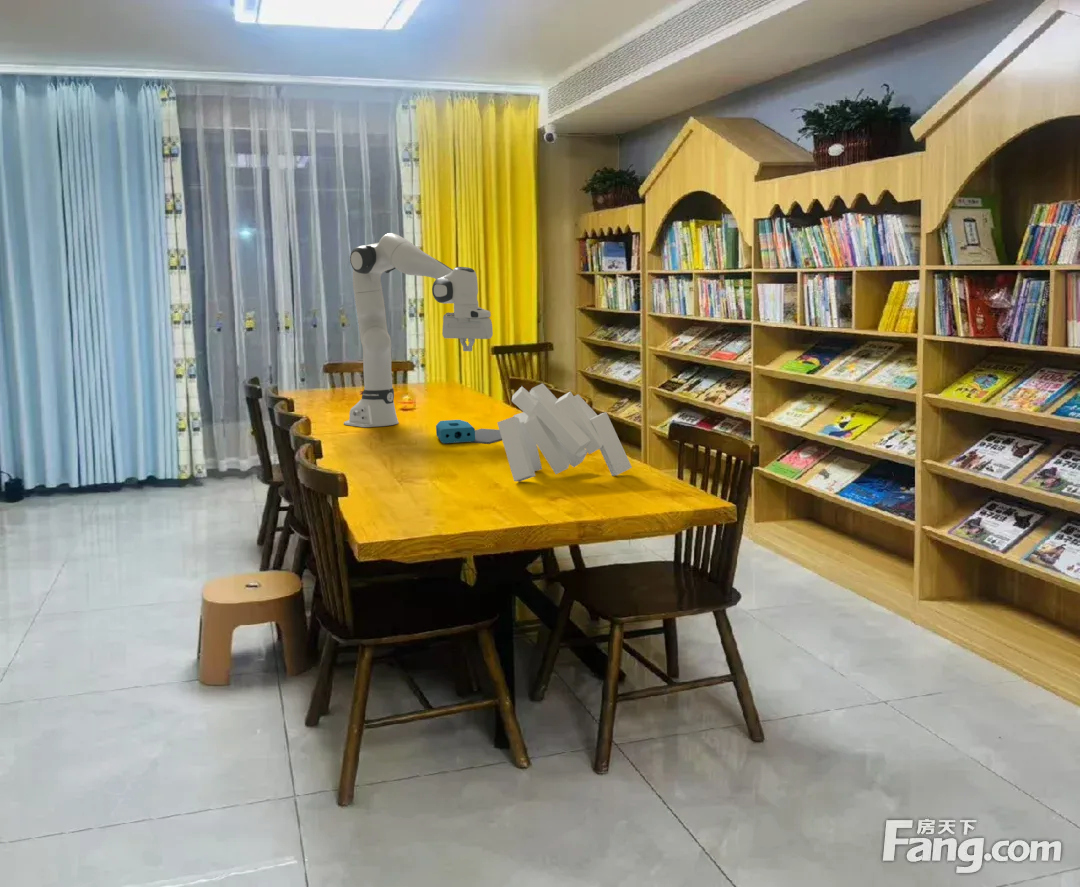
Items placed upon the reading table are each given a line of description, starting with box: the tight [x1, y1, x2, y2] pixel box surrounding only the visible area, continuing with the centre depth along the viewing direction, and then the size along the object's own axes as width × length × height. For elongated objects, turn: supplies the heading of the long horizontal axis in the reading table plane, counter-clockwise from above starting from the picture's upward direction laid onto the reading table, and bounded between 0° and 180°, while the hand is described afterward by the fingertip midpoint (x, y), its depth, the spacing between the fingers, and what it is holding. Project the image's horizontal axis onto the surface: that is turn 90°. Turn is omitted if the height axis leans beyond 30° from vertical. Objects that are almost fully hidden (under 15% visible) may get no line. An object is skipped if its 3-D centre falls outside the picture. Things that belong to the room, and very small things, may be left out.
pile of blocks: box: [497, 383, 633, 482], centre depth 304 cm, size 35×30×35 cm
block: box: [435, 419, 476, 444], centre depth 374 cm, size 12×5×20 cm
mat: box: [469, 428, 502, 445], centre depth 379 cm, size 20×24×1 cm
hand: (467, 351), depth 377 cm, fingers closed
